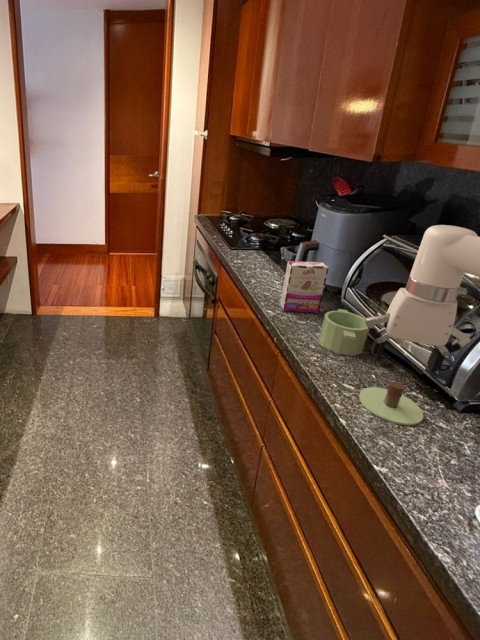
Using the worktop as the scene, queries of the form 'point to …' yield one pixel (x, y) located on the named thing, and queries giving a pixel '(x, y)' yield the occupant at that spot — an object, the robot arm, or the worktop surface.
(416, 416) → the lid
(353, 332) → the pot
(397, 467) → the worktop surface
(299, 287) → the candy bar box
